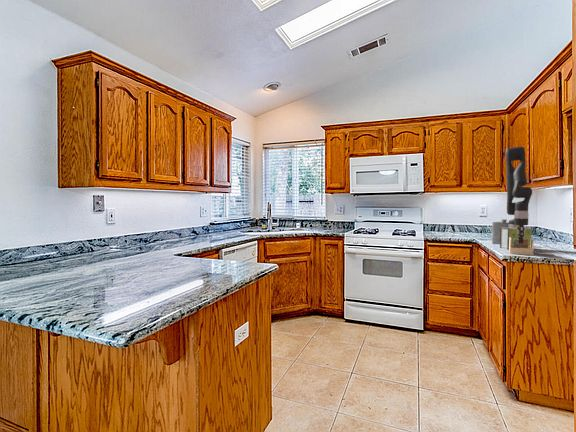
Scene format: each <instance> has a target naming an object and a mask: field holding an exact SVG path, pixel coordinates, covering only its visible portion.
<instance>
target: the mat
mask: <svg viewBox="0 0 576 432" xmlns="http://www.w3.org/2000/svg"><path fill="white" fill-rule="evenodd" d="M535 254H536V255H537V256H545V257H556V255H555V254H553V253H542V252H540V253H539V252H536V253H535Z"/></svg>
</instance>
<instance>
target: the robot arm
mask: <svg viewBox="0 0 576 432" xmlns="http://www.w3.org/2000/svg"><path fill="white" fill-rule="evenodd" d="M513 161H514V162H515V161H516V162H517V161H519V163H518V165H517V167H516V168H515V167H514V165H513V164H512V162H513ZM505 163H506V164H505V166H506V192H507V193H506V197H507V198H506V213H507V215H509V216H513V217H514V218H513V219H510V220H508V223H509V228H517V234H518V239H519V243H523V237H524V231H525V228H526V227H525V226H528V225H529V217H530V216H529V215H530V214H529V204H530V200H531V197H532V195H533V190H532V188H531V187H530V186H526V185H527V184H528V179H527V172H526V167H527V166H526V165H527V164H526V163H527V162H526V150H525V146H521V145H520V146H515V147H508V148H506V149H505ZM514 198H515V199H523V200H520V201H517V202H513V200H514Z"/></svg>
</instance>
